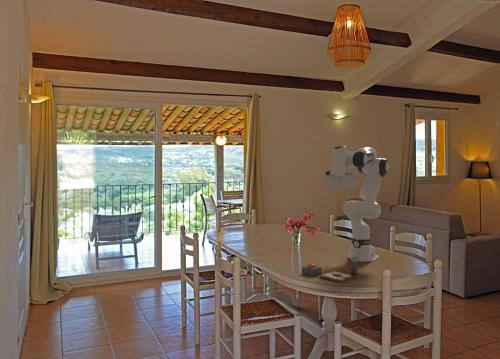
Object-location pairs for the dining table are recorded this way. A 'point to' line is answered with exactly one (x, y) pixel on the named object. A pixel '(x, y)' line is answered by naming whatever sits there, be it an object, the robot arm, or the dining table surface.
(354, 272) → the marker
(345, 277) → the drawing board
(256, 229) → the dining table surface
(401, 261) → the dining table surface
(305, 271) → the button housing
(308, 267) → the button
